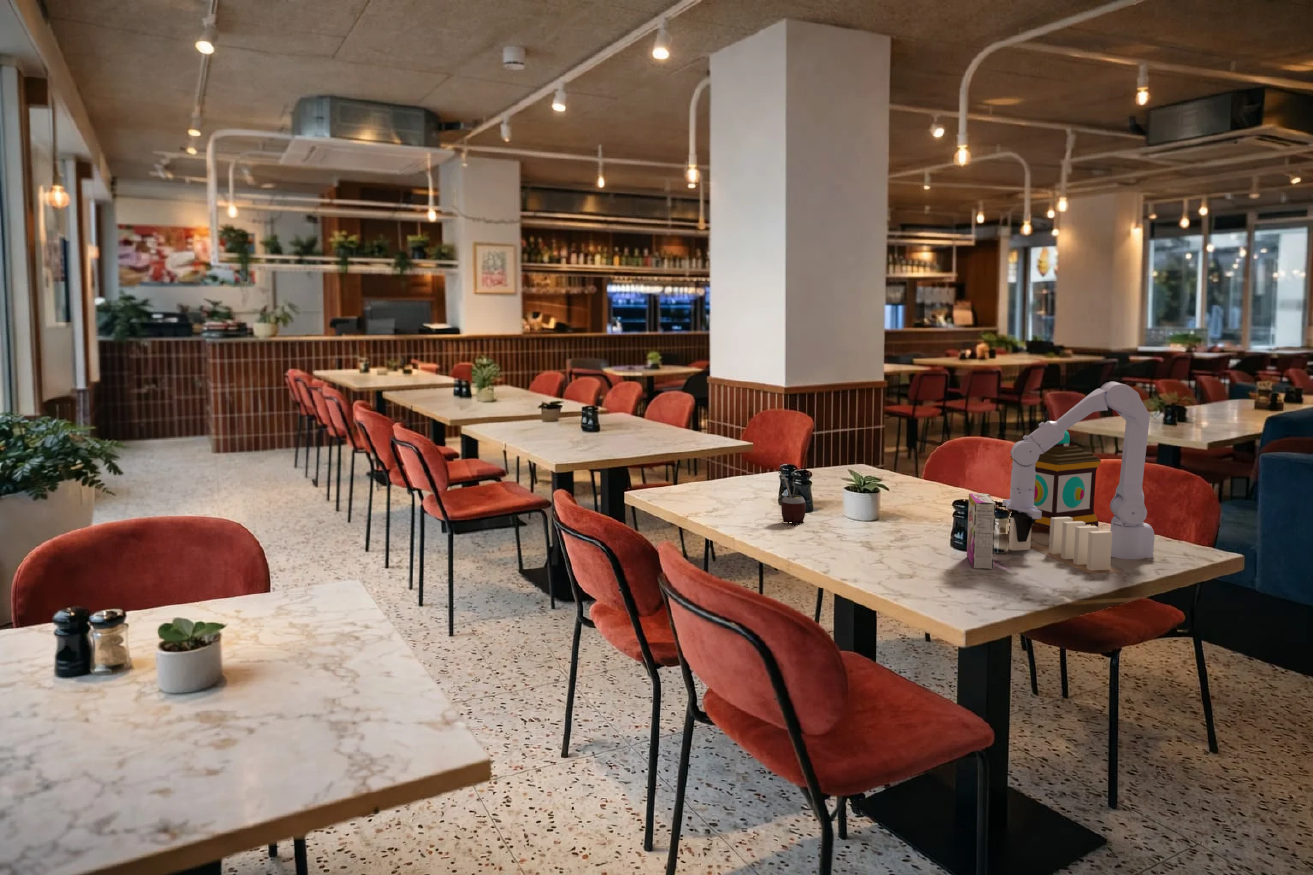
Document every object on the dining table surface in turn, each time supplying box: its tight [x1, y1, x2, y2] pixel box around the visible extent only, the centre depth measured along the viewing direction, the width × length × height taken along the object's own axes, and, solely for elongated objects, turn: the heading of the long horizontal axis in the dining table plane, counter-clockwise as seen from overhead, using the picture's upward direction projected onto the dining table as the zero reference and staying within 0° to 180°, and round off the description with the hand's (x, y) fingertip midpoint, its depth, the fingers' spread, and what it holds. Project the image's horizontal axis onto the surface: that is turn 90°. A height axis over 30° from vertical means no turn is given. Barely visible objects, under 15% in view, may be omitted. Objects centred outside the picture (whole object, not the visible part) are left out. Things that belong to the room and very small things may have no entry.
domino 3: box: [1061, 521, 1086, 559], centre depth 218 cm, size 2×5×9 cm, turn 99°
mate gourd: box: [777, 470, 807, 526], centre depth 259 cm, size 8×8×15 cm
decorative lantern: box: [1010, 430, 1102, 530], centre depth 249 cm, size 20×20×30 cm
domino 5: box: [1086, 530, 1113, 571], centre depth 208 cm, size 2×5×9 cm, turn 99°
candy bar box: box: [966, 492, 997, 570], centre depth 216 cm, size 11×5×16 cm, turn 168°
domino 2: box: [1048, 517, 1073, 554], centre depth 223 cm, size 2×5×9 cm, turn 99°
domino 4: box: [1073, 525, 1100, 565], centre depth 213 cm, size 2×5×9 cm, turn 99°
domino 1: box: [1008, 517, 1032, 551], centre depth 226 cm, size 2×5×9 cm, turn 99°
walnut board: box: [1030, 543, 1124, 575], centre depth 218 cm, size 9×26×1 cm, turn 9°
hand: (1019, 540), depth 227 cm, fingers closed on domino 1, 1 cm apart
